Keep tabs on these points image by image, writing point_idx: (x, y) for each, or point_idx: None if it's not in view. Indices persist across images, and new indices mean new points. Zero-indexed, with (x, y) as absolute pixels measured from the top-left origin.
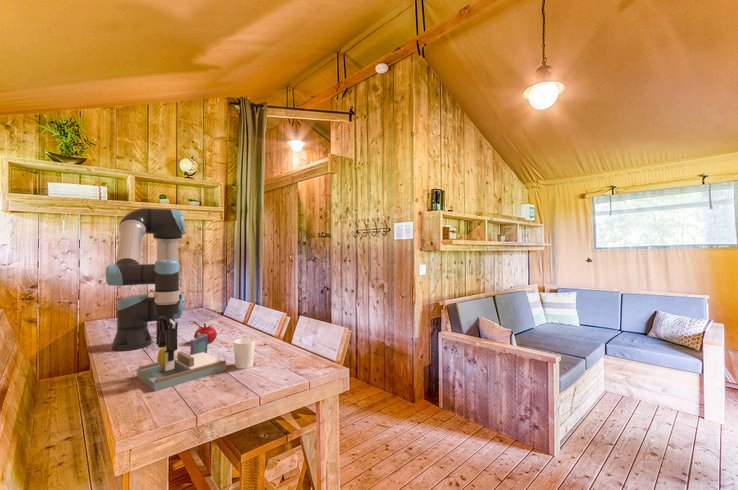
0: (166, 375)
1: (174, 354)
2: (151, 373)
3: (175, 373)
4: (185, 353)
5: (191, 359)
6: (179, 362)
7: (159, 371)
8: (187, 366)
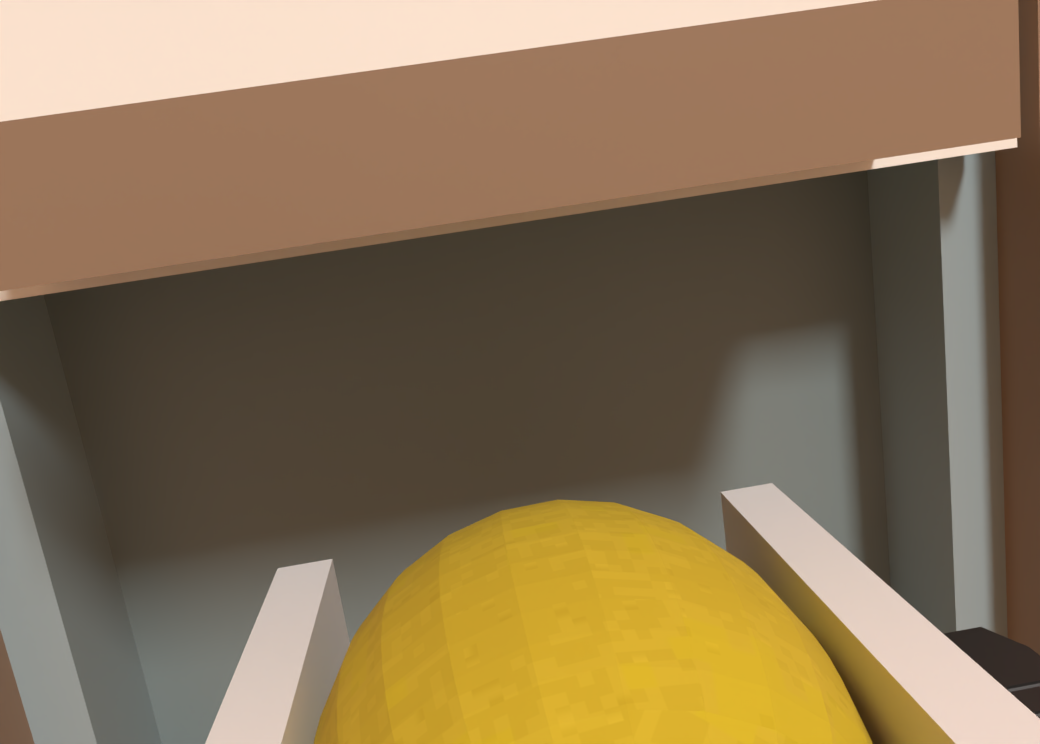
0: (424, 505)
1: (763, 611)
2: (151, 722)
3: (422, 346)
4: (269, 89)
5: (997, 75)
6: (257, 260)
7: (117, 589)
8: (784, 178)
